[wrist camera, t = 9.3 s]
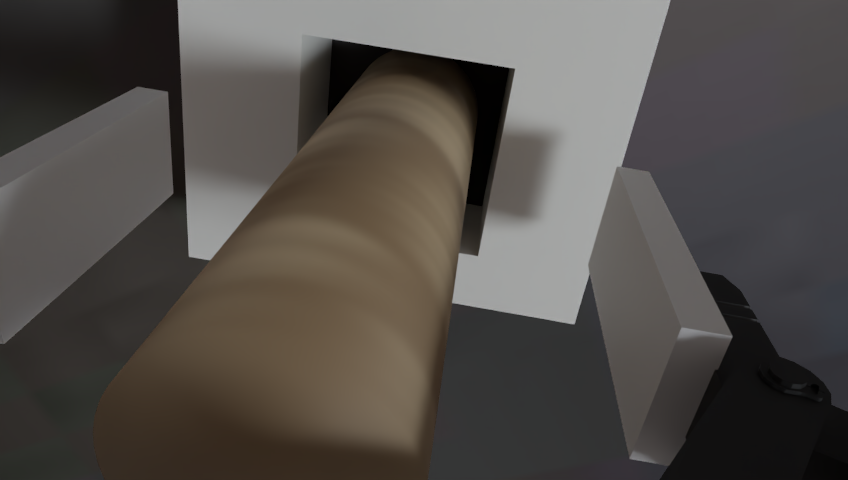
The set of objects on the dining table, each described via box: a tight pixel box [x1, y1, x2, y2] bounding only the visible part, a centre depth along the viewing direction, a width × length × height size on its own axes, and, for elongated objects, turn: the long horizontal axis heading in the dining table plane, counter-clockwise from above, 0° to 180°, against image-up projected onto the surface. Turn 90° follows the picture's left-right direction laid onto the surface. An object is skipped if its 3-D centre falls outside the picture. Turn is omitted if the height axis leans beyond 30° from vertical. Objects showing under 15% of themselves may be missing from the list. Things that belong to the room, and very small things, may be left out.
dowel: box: [93, 49, 478, 480], centre depth 14 cm, size 4×4×15 cm
